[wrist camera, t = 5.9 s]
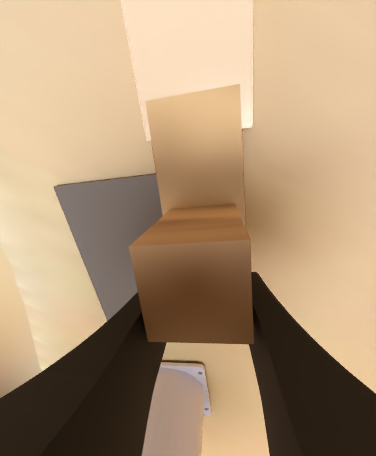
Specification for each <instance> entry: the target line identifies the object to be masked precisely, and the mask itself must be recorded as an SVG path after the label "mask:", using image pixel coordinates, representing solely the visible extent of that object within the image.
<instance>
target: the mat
mask: <svg viewBox="0 0 376 456" xmlns="http://www.w3.org/2000/svg"><path fill="white" fill-rule="evenodd" d="M54 190H55V192H56V195H57V197H58V200H59V202H60V205H61V207H62V210H63V212H64V214H65V217H66V219H67V222H68V224H69V227H70V229H71V232H72V234H73V237H74V239H75V242H76V244H77V247H78V249H79V252H80V254H81V257H82V259H83V261H84V264H85V266H86V269H87V271H88V274H89V276H90V279H91V281H92V284H93V286H94V289H95V291H96V294H97V296H98V299H99V301H100V304H101V306H102V309H103V311H104V313H105V316H106V318H107V321H108V320H109V319H110V318H111V317H112V316H114V315H115V314H116V313H117V312H118V311H119V310H120V309H121V308H122V307H123V306H124V305H125V304H126V303H127V302H128V301H129V300H130V299H131V298H132V297H133V296H134V295H135V294H136V293H137V292H138V290H137V286H136V281H135V276H134V271H133V266H132V261H131V256H130V252H129V246H130V245H131V244H132V243H133V242H134V241H136V240H137V239H138V238H139V237H140V236H141V235H142V234H143V233H144V232H146V231H147V230H148V229H149V228H150V227H151V226H152V225H153V224H155V223H156V222H157V221H158V220H159V219H160V218H161V217H162V216H163V215H162V208H161V201H160V195H159V188H158V182H157V175H156V174H149V175H141V176H133V177H124V178H116V179H107V180H99V181H91V182H82V183H74V184H66V185H57V186H54Z"/></svg>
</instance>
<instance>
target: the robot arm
mask: <svg viewBox="0 0 376 456" xmlns="http://www.w3.org/2000/svg"><path fill="white" fill-rule="evenodd" d="M251 277H252V306H253V335H254V344H249V346H250V351H251V355H252V359H253V364H254V368H255V372H256V377H257V381H258V385H259V390H260V395H261V400H262V406H263V413H264V419H265V426H266V433H267V439H268V446H269V453H270V456H376V394H375V393H374V392H373V391H372V390H371V389H369V388H368V387H367V386H366V385H364V384H363V383H362V382H361V381H360V380H358V379H357V378H356V377H355V376H353V375H352V374H351V373H350V372H349V371H348V370H346V369H345V368H344V367H343V366H342V365H341V364H340V363H339V362H338V361H336V360H335V359H334V358H333V357H332V356H331V355H330V354H329V353H328V352H327V351H325V350H324V349H323V348H322V347H321V346H320V345H319V344H318V343H317V342H316V341H315V340H314V339H313V338H312V337H311V336H310V335H309V334H308V333H307V332H306V331H305V330H304V329H303V328H302V327H301V326H300V325H299V324H298V323H297V322H296V320H295V319H294V318H293V317H292V316H291V315H290V314H289V313H288V312H287V310H286V309H285V308H284V307H283V306H282V305H281V303H280V302H279V301H278V300H277V299H276V297H275V296H274V295H273V294H272V292H271V291H270V290H269V288H268V287H267V286H266V284H265V283H264V281H263V280H262V278H261V277H260V275H259V274H258V273H257V272H251ZM165 346H166V342H148V339H147V334H146V329H145V324H144V319H143V315H142V310H141V305H140V300H139V295H138V292H137V293H136V294H135V295H134V296H133V297H132V298H131V299H130V300H129V301H128V302H127V303H126V304H125V305H124V306H123V307H122V308H121V309H120V310H119V311H118V312H117V313H116V314H115V315H114V316H112V317H111V318H110V319H109V320H108V321H107V322H106V323H105V324H104V325H103V326H102V327H100V328H99V329H98V330H97V331H96V332H95V333H93V334H92V335H91V336H90V337H88V338H87V339H86V340H85V341H83V342H82V343H81V344H80V345H78V346H77V347H76V348H74V349H73V350H72V351H70V352H69V353H68V354H66V355H65V356H63V357H62V358H61V359H59V360H58V361H56V362H55V363H54V364H52V365H51V366H49V367H48V368H47V369H45V370H44V371H42V372H41V373H39V374H38V375H36V376H35V377H33V378H32V379H30V380H29V381H27V382H26V383H24V384H23V385H21V386H19V387H18V388H16V389H15V390H13V391H12V392H10V393H8V394H7V395H5V396H3V397H2V398H0V456H201V449H202V428H203V415H206V416H209V415H211V405H210V399H209V392H208V386H207V380H206V374H205V368H204V365H202V364H196V363H172V362H161V361H162V357H163V353H164V350H165Z"/></svg>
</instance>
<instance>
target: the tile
mask: <svg viewBox="0 0 376 456" xmlns="http://www.w3.org/2000/svg"><path fill="white" fill-rule="evenodd" d="M120 2H121V8H122V13H123V18H124V24H125V29H126V35H127V40H128V45H129V51H130V56H131V61H132V67H133V72H134V78H135V83H136V88H137V94H138V99H139V104H140V110H141V115H142V121H143V126H144V131H145V137H146V141H151V136H150V129H149V122H148V116H147V109H146V103H145V101H148V100H154V99H159V98H164V97H170V96H175V95H181V94H186V93H192V92H197V91H203V90H208V89H214V88H219V87H225V86H230V85H235V84H240V98H241V123H242V129H244V128H251V127H252V126H253V0H120Z"/></svg>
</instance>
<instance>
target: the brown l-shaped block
mask: <svg viewBox="0 0 376 456" xmlns="http://www.w3.org/2000/svg"><path fill="white" fill-rule="evenodd" d="M145 103H146V109H147V116H148V122H149V129H150V136H151V142H152V149H153V155H154V162H155V169H156V175H157V182H158V188H159V195H160V201H161V208H162V215H163V216H162V217H161V218H160V219H159V220H158V221H157V222H156V223H155V224H153V225H152V226H151V227H150V228H149V229H148V230H147V231H146V232H144V233H143V234H142V235H141V236H140V237H139V238H138V239H137V240H136V241H134V242H133V243H132V244H131V245H130V246H129V252H130V256H131V261H132V266H133V271H134V276H135V281H136V286H137V290H138V295H139V300H140V305H141V310H142V315H143V319H144V324H145V329H146V334H147V339H148V342H180V343H222V344H254V335H253V306H252V277H251V249H250V238H249V236H248V233H247V231H246V222H245V198H244V173H243V148H242V123H241V98H240V84H235V85H230V86H225V87H219V88H214V89H208V90H203V91H197V92H192V93H186V94H181V95H175V96H170V97H164V98H159V99H154V100H148V101H145Z"/></svg>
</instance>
